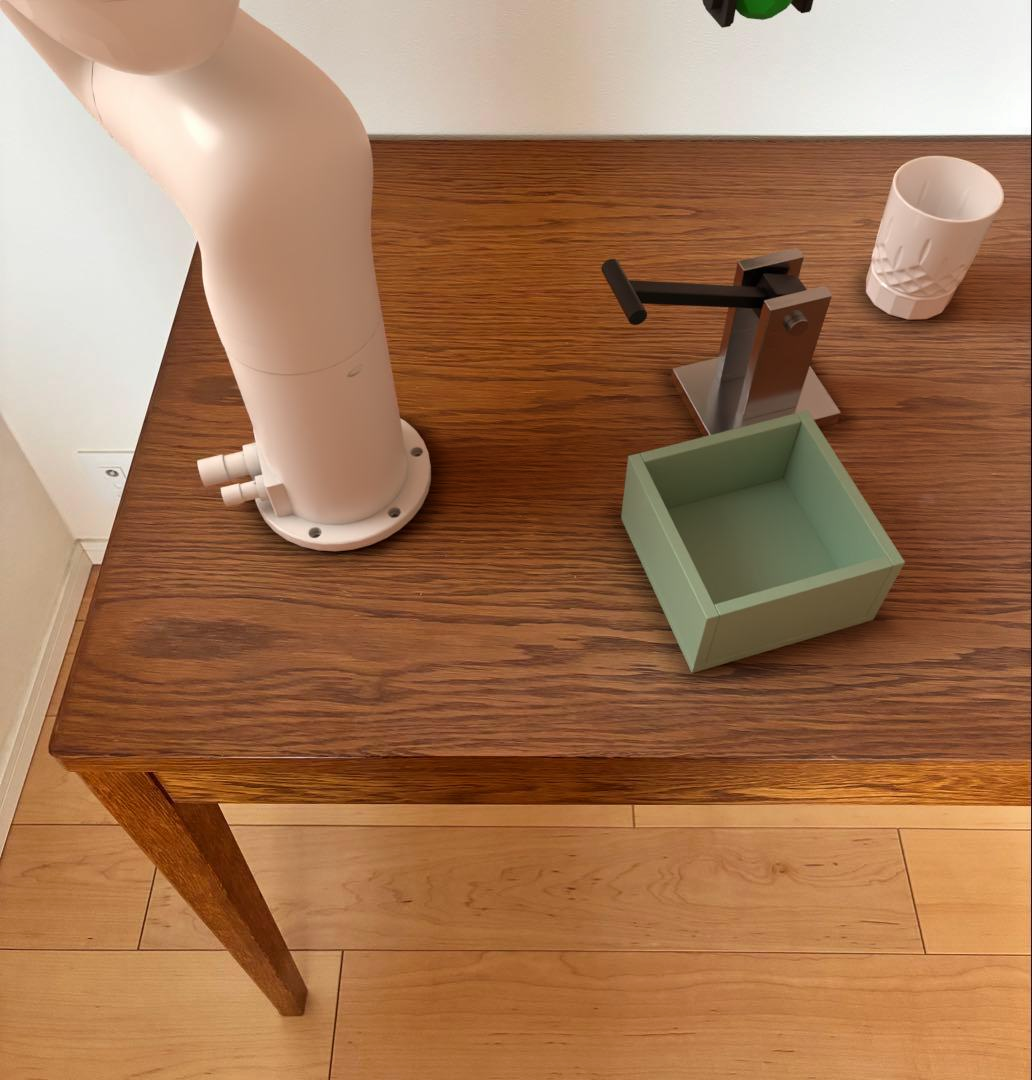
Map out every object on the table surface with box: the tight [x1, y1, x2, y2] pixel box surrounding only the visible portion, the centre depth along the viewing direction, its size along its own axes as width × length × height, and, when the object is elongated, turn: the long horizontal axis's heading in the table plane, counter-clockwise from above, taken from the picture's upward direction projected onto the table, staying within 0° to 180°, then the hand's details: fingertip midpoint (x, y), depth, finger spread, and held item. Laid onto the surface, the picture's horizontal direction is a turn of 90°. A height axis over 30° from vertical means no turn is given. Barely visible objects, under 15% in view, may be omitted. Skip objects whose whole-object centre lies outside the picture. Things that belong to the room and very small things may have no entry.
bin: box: [620, 411, 906, 674], centre depth 63 cm, size 13×13×7 cm
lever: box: [600, 258, 808, 326], centre depth 64 cm, size 14×5×2 cm, turn 107°
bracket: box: [670, 247, 841, 437], centre depth 69 cm, size 10×8×12 cm
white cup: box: [865, 155, 1005, 320], centre depth 77 cm, size 8×8×10 cm
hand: (757, 7), depth 67 cm, fingers closed on polyhedron, 5 cm apart
